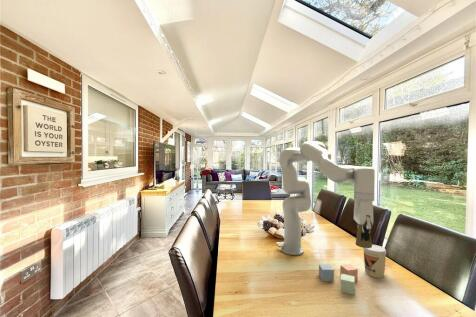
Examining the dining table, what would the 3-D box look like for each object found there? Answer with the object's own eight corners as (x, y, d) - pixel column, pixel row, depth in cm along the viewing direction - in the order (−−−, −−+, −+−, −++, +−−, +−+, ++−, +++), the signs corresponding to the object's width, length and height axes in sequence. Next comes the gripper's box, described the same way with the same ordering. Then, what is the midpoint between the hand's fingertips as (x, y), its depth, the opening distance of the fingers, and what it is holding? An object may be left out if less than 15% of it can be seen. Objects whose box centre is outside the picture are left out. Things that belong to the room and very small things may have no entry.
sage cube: (340, 291, 92) (340, 279, 92) (341, 285, 96) (341, 273, 96) (354, 294, 90) (354, 282, 90) (354, 288, 94) (354, 276, 94)
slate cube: (322, 280, 100) (322, 269, 100) (318, 275, 105) (318, 264, 105) (333, 281, 100) (333, 269, 100) (329, 275, 105) (329, 264, 105)
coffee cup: (358, 270, 109) (358, 245, 109) (372, 267, 112) (372, 242, 112) (376, 280, 100) (376, 253, 100) (391, 276, 104) (391, 250, 104)
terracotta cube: (347, 281, 99) (347, 270, 99) (340, 275, 104) (340, 265, 104) (357, 280, 100) (357, 269, 100) (349, 274, 105) (349, 264, 105)
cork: (352, 242, 97) (352, 217, 97) (365, 242, 98) (366, 216, 98) (361, 248, 91) (361, 221, 91) (375, 247, 92) (375, 220, 91)
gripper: (348, 193, 103) (348, 232, 103) (360, 199, 87) (360, 247, 87) (366, 193, 102) (366, 234, 102) (382, 200, 85) (381, 248, 86)
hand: (363, 239), depth 94 cm, fingers closed on cork, 3 cm apart
